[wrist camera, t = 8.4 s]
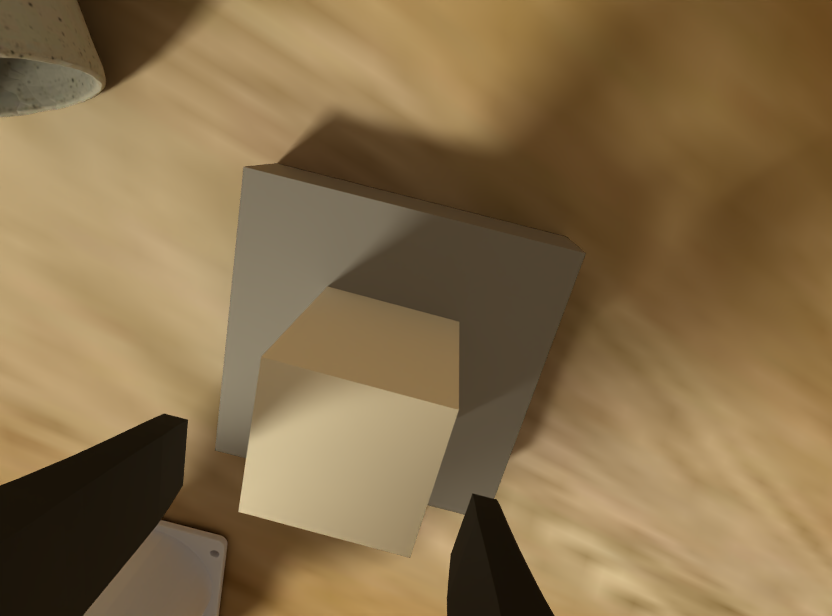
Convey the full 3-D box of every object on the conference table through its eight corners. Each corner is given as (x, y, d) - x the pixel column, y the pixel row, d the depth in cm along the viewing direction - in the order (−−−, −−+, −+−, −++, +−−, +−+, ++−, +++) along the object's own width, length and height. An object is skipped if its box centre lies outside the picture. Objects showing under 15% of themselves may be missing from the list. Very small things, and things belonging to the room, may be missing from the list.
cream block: (425, 433, 19) (409, 558, 13) (305, 400, 19) (238, 511, 13) (459, 321, 17) (459, 409, 11) (327, 286, 17) (260, 357, 11)
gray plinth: (482, 473, 23) (486, 519, 20) (245, 412, 23) (215, 450, 20) (566, 236, 19) (585, 253, 16) (276, 163, 19) (243, 166, 16)
